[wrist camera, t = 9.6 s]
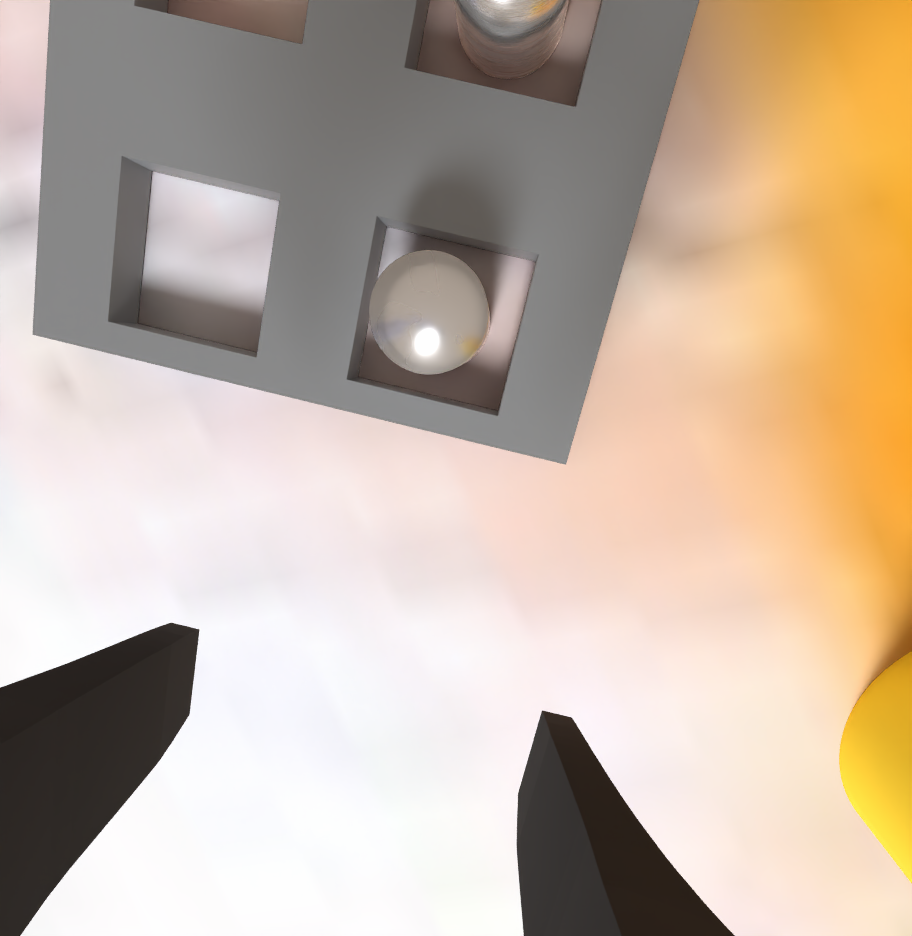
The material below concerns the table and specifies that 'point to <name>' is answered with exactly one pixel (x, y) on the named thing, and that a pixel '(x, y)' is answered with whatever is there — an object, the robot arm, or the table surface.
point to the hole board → (349, 190)
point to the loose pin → (429, 312)
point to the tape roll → (883, 760)
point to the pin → (510, 34)
